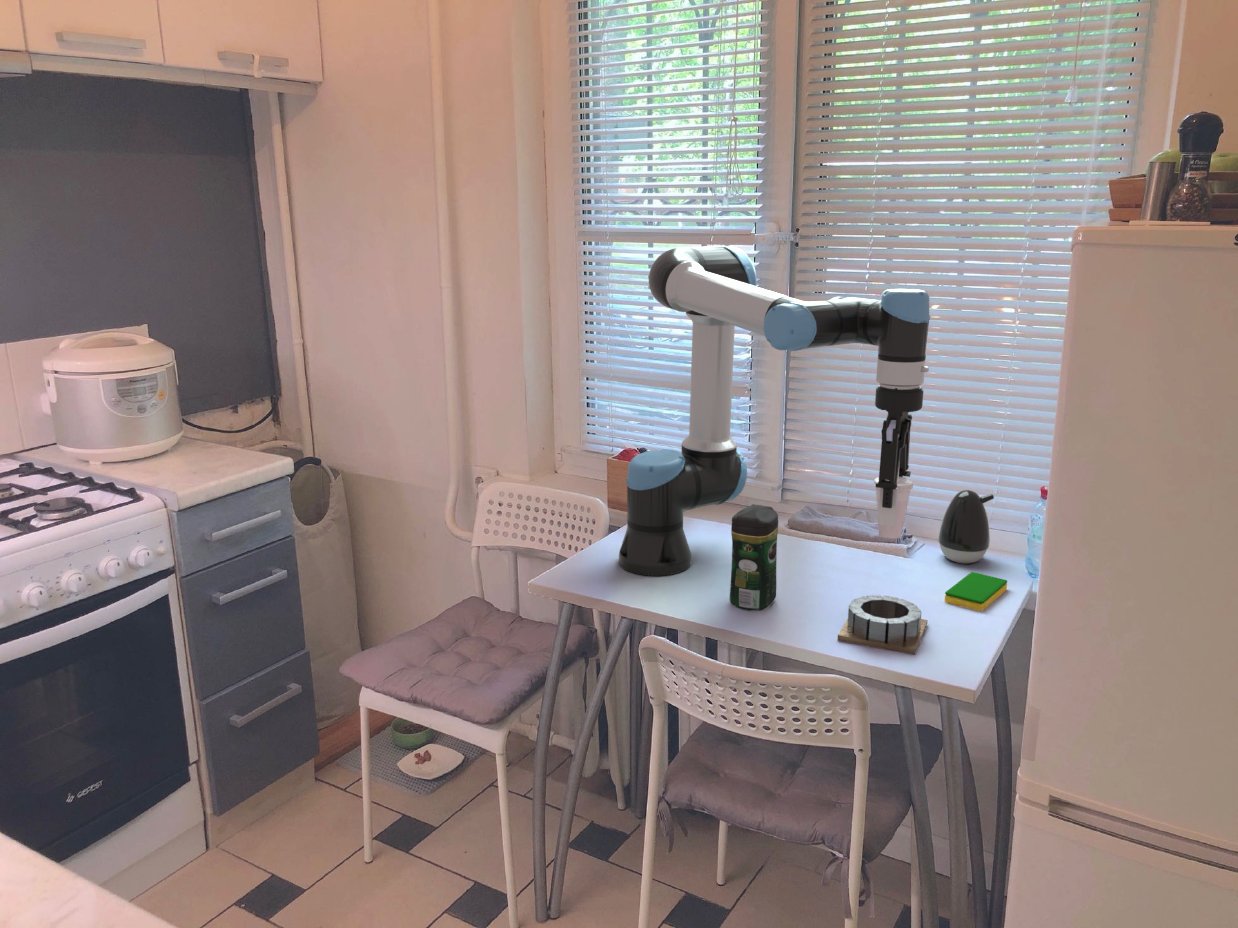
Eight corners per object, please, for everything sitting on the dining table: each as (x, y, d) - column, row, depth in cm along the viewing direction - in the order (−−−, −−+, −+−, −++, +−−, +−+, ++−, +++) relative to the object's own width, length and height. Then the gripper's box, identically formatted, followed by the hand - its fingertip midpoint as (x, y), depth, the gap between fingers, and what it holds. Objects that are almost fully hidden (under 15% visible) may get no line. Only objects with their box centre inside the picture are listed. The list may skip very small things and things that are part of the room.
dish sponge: (1006, 591, 189) (1008, 579, 188) (980, 613, 178) (982, 601, 178) (970, 582, 193) (971, 571, 192) (943, 603, 183) (944, 592, 182)
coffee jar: (741, 589, 189) (744, 499, 184) (780, 597, 185) (784, 504, 180) (723, 607, 180) (725, 513, 176) (763, 615, 177) (767, 519, 172)
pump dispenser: (995, 568, 199) (1002, 497, 195) (944, 567, 200) (951, 497, 196) (979, 551, 209) (986, 483, 205) (931, 550, 209) (936, 483, 206)
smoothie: (916, 539, 162) (922, 459, 159) (881, 542, 161) (886, 461, 158) (898, 527, 168) (903, 450, 165) (864, 530, 167) (868, 452, 164)
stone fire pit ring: (837, 640, 167) (838, 616, 165) (854, 612, 178) (855, 589, 177) (914, 654, 161) (917, 630, 160) (927, 625, 172) (929, 601, 171)
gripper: (913, 396, 148) (903, 539, 154) (932, 377, 165) (922, 506, 171) (864, 393, 151) (855, 532, 157) (888, 374, 168) (879, 501, 174)
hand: (890, 518), depth 164 cm, fingers closed on smoothie, 6 cm apart
